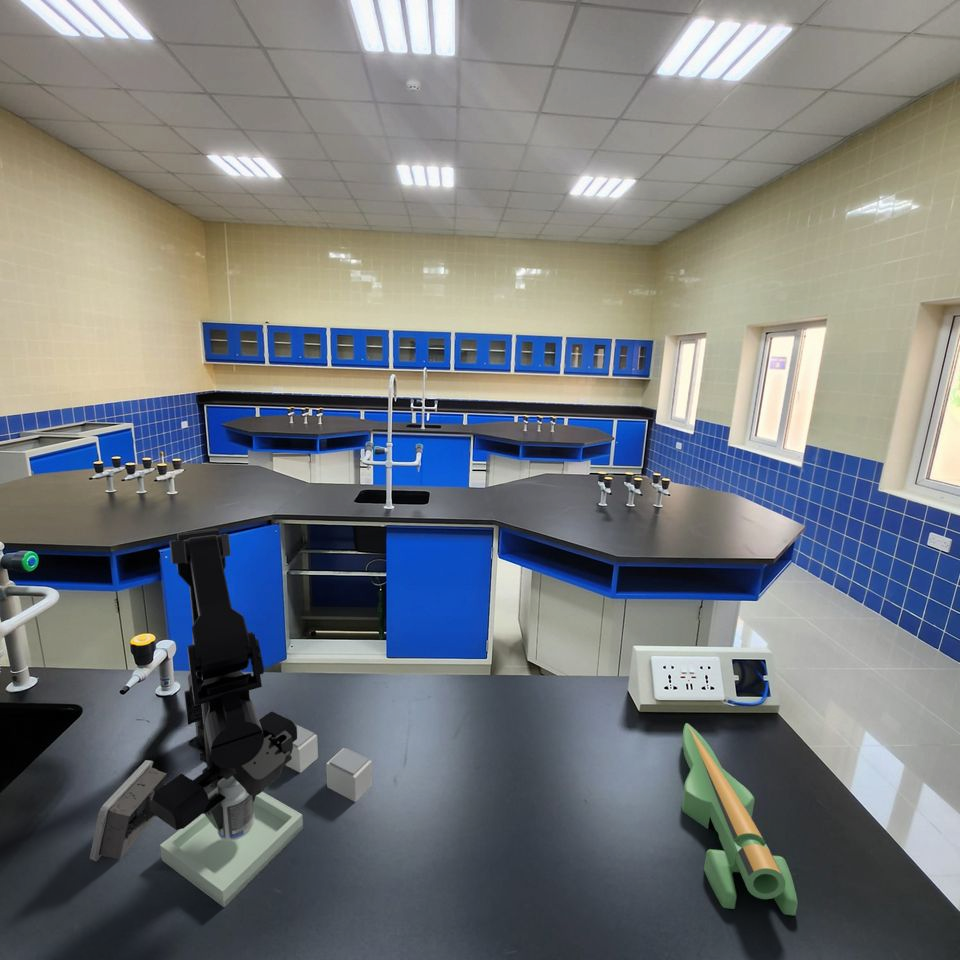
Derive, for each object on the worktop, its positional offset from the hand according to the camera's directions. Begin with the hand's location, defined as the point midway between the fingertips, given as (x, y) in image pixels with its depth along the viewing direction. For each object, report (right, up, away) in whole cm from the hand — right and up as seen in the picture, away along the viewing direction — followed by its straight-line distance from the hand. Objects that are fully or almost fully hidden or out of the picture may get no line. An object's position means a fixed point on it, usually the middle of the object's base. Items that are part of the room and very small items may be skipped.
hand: (234, 814), depth 72 cm
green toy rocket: (+72, -6, +10) cm, 73 cm away
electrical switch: (-16, -4, +2) cm, 17 cm away
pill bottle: (0, -2, 0) cm, 2 cm away
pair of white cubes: (+8, -2, +15) cm, 17 cm away
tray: (-1, -5, +1) cm, 5 cm away
